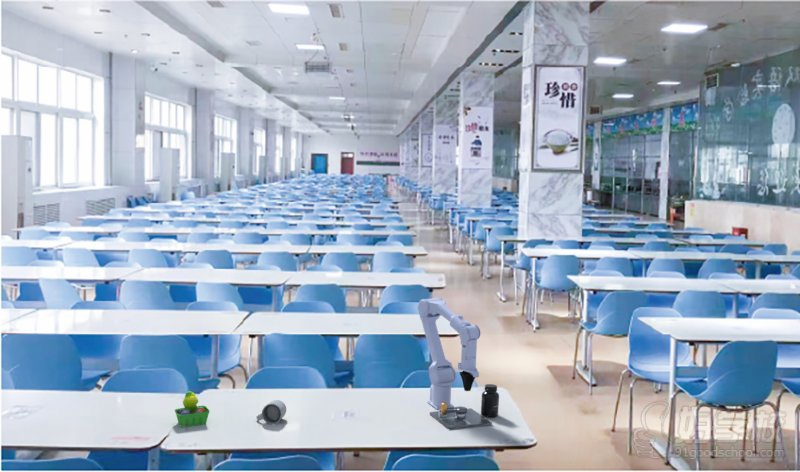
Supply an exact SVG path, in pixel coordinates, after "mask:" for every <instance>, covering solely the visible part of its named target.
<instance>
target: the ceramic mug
mask: <svg viewBox="0 0 800 472" xmlns="http://www.w3.org/2000/svg"><path fill="white" fill-rule="evenodd" d="M286 414H287V406H286V404H285V403H284V402H283V401H282V400H280V399H276V400H275V399H274V400H272V401H271V402H269V403H267V404H266V405H265V406H264V407H263V408H262V410H261V413H260V414H258V415H257V416H256V420H257V421H262V420H263V421H264V422H265V423H267V424H269V425H277V423H279V422H280V421H281V420H282V419H283V418H284V417H285V415H286Z"/></svg>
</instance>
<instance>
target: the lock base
mask: <svg viewBox="0 0 800 472" xmlns="http://www.w3.org/2000/svg"><path fill="white" fill-rule="evenodd" d="M429 416H430V417H432V418H433V419H434V420H435V421H436V422H439V423H440V425H443V426H444V427H445V428H446V429H447V430H448V429H451V430H460V429H461V430H462V429H469V428H480V427H488V426H489V427H490V426H493V422H492V421H490V420H489V419H487V417H484V416H482V415H481V413H479V412H477V411H476V410H475V409H473V408H467V413H463V414H461V413H456V412H455V413H447V414H446V415H442V414H441V409H437V411H430V412H429Z"/></svg>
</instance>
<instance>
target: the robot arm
mask: <svg viewBox="0 0 800 472" xmlns="http://www.w3.org/2000/svg"><path fill="white" fill-rule="evenodd" d="M417 305H418V306H417V310H418V314H419V318H420V320H421V324H422V328H423V331H424V337H425V338H426V339H425V340H426V343H427V346H428V350H429V354H430V357H431V361H432V363H431V364H430V366H428V372H429V374H428V375H429V377H428V378H429V381H430V382H431V385H430V387H429V388H430V389H429V401H427V403H428V404H429V405H430V406H432V408H434V409H436V410H438V409H441V403H447V409H455V405H453V404H452V403H451V399H452V397H451V396H452V385H454V384H453V382H455V381H456V377H457V376H456V375H457V372H456V370H455V368H454V367H453V364H452V362H451V361H449V360H447V359H446V356H445V352H444V349H443V345H442V343H441V338H440V334H439V331H438V328H437V324H436V322H437V320H438V319H440V317H443V318H444V319H445V320H447V321H448V322H449V325H450V327H451V328H452V329H453V330H454V331H455V332H457V333H458V336H459V339H460V344H461V353H460V354H461V359H460V362H458V363H457V367H458V368H457V369H458V370H459V376H460V377H461V381H462V385H463V389H464V391H465V392H471V390H472V386H473V383H474V381H475V379H476V378H479V377H480V372H479V371H478V368H477V367H476V366H477V350H478V349H477V347H478V340H479V338H481V329H480V327H479V326H478V325H477V324H471V323H470V322H469V321H468V320H466V319H465V318H464V317H463V315H462V314H456V313H454V312H453V311H452V310H451V308H450V307H449V306H448V305H447V303H446V300H444V299H443V298H442V297H436V298H435V297H434V298H425V299H424V298H422V299H420V300H419V303H418V304H417Z"/></svg>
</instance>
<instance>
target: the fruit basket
mask: <svg viewBox="0 0 800 472" xmlns="http://www.w3.org/2000/svg"><path fill="white" fill-rule="evenodd" d="M198 403H199V399H198V398H197V396H196V393H195V392H193V391H186V392H185V395H184V398H183V400H182V405H183V407H181V408H180V407H179V408H175V409H174V412H175V416H176V418H177V419H176V420H177V423H178V424H179V426H180V427H181V428H185V427H192V426H193V427H194V426H200V425H206V424H207V422H208V417H209V414H210V412H211V410H210V409H209V408H208V407H207V406H206V405H197V404H198Z"/></svg>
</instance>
